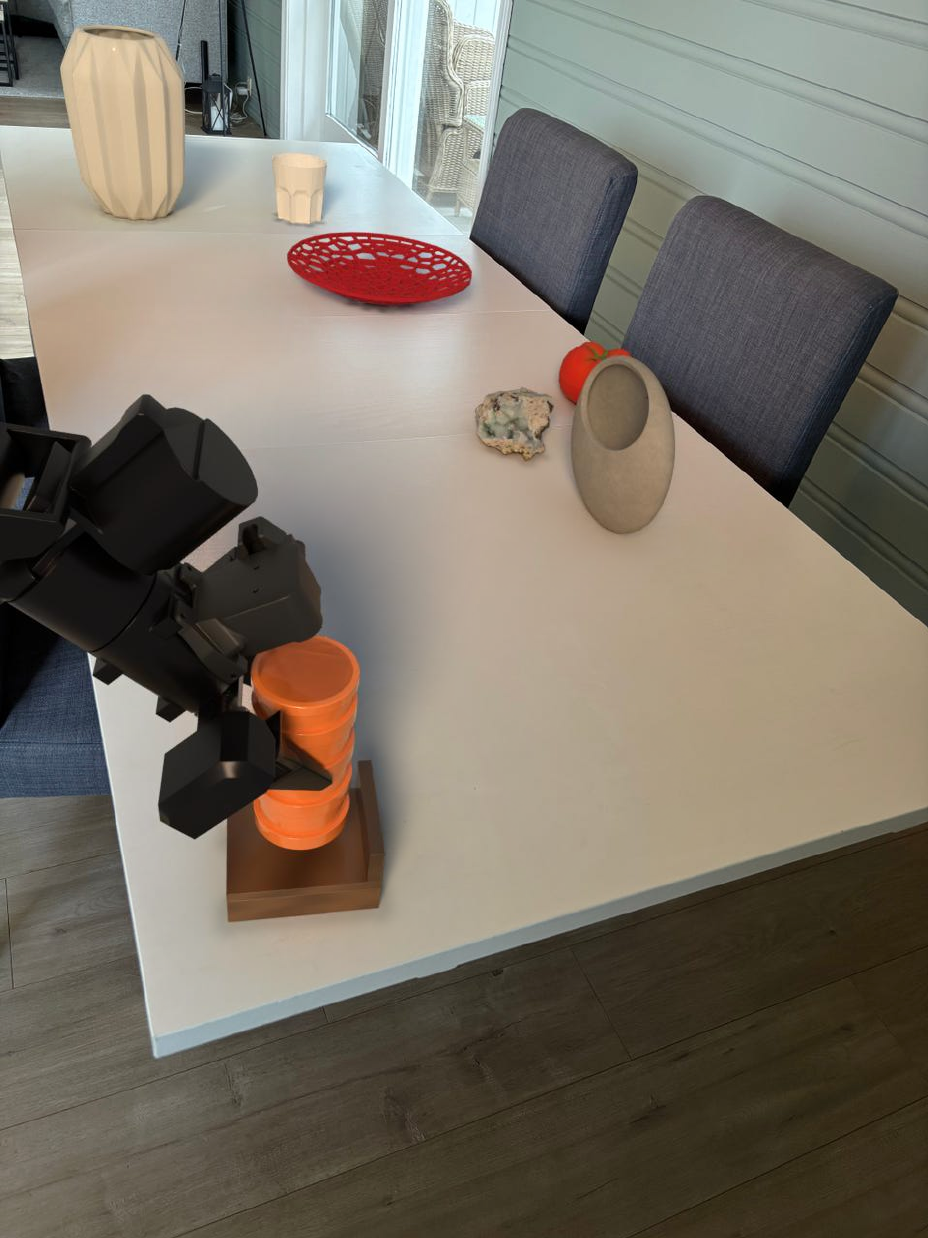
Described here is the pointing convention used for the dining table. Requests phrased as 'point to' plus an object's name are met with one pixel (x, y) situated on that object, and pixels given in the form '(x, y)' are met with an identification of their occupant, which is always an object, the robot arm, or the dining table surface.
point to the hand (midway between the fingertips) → (325, 744)
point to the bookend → (307, 864)
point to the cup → (299, 186)
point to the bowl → (379, 269)
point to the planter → (623, 444)
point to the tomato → (582, 366)
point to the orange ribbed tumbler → (308, 735)
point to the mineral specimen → (514, 421)
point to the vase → (126, 118)
